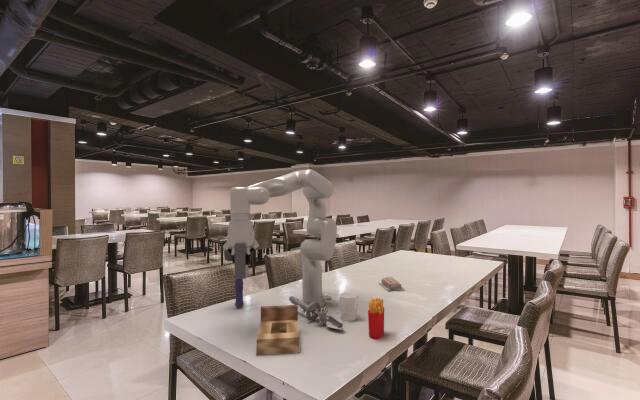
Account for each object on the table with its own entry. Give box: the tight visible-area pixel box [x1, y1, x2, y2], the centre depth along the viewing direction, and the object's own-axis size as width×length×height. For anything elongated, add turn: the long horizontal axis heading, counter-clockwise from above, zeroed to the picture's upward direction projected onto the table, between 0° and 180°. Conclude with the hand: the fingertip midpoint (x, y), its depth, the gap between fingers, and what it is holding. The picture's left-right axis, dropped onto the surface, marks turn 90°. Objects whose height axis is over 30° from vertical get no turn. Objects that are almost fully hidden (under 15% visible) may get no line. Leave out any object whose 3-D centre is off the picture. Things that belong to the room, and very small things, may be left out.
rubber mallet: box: [223, 246, 254, 309], centre depth 150 cm, size 12×8×30 cm, turn 132°
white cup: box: [338, 291, 359, 322], centre depth 134 cm, size 8×8×10 cm
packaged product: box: [378, 276, 405, 293], centre depth 182 cm, size 18×5×10 cm
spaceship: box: [288, 295, 345, 331], centre depth 132 cm, size 8×35×8 cm
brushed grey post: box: [234, 244, 249, 280], centre depth 124 cm, size 4×8×13 cm, turn 6°
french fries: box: [367, 297, 385, 340], centre depth 117 cm, size 9×4×13 cm, turn 145°
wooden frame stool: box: [256, 304, 301, 356], centre depth 112 cm, size 14×18×10 cm
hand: (241, 264), depth 124 cm, fingers closed on brushed grey post, 4 cm apart
